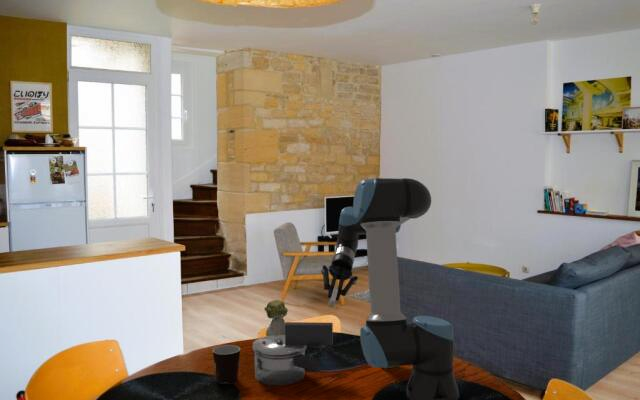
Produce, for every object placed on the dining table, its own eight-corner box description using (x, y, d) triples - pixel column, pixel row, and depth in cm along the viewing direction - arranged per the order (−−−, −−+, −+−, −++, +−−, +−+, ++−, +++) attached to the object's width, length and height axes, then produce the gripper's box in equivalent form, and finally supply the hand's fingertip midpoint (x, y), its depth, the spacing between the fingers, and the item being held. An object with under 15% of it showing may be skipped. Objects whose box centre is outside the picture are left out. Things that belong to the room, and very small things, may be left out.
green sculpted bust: (313, 312, 217) (293, 306, 204) (294, 364, 214) (272, 361, 201) (284, 300, 224) (262, 293, 211) (265, 350, 221) (241, 346, 208)
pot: (238, 374, 190) (237, 346, 189) (275, 360, 202) (275, 335, 202) (299, 397, 171) (299, 367, 171) (336, 381, 184) (336, 353, 183)
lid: (248, 356, 180) (248, 331, 179) (256, 338, 197) (256, 315, 197) (331, 356, 179) (331, 332, 178) (333, 339, 196) (333, 316, 196)
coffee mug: (235, 387, 180) (234, 355, 179) (208, 384, 181) (208, 353, 181) (247, 373, 191) (247, 343, 190) (222, 371, 193) (222, 341, 192)
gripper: (356, 276, 209) (347, 319, 189) (322, 264, 209) (309, 305, 189) (363, 260, 205) (354, 302, 185) (328, 247, 206) (315, 288, 185)
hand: (331, 304), depth 187 cm, fingers closed
